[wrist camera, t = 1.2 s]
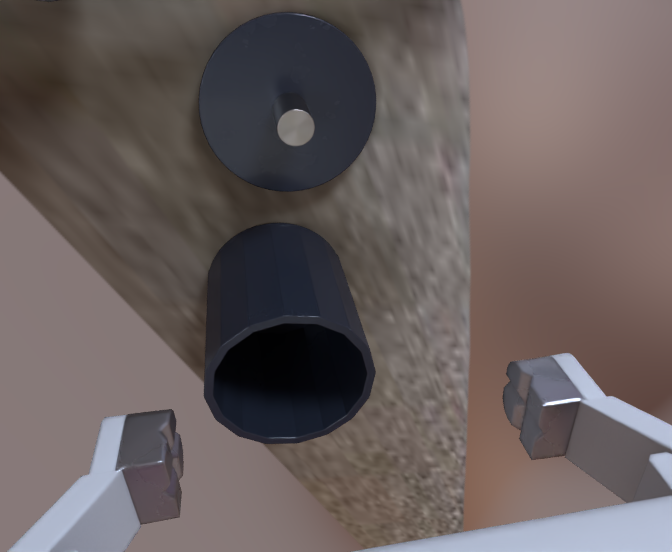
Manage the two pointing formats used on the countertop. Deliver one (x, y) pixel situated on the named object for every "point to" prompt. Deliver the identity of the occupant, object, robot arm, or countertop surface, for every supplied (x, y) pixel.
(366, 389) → the canister
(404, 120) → the countertop surface
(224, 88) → the lid
